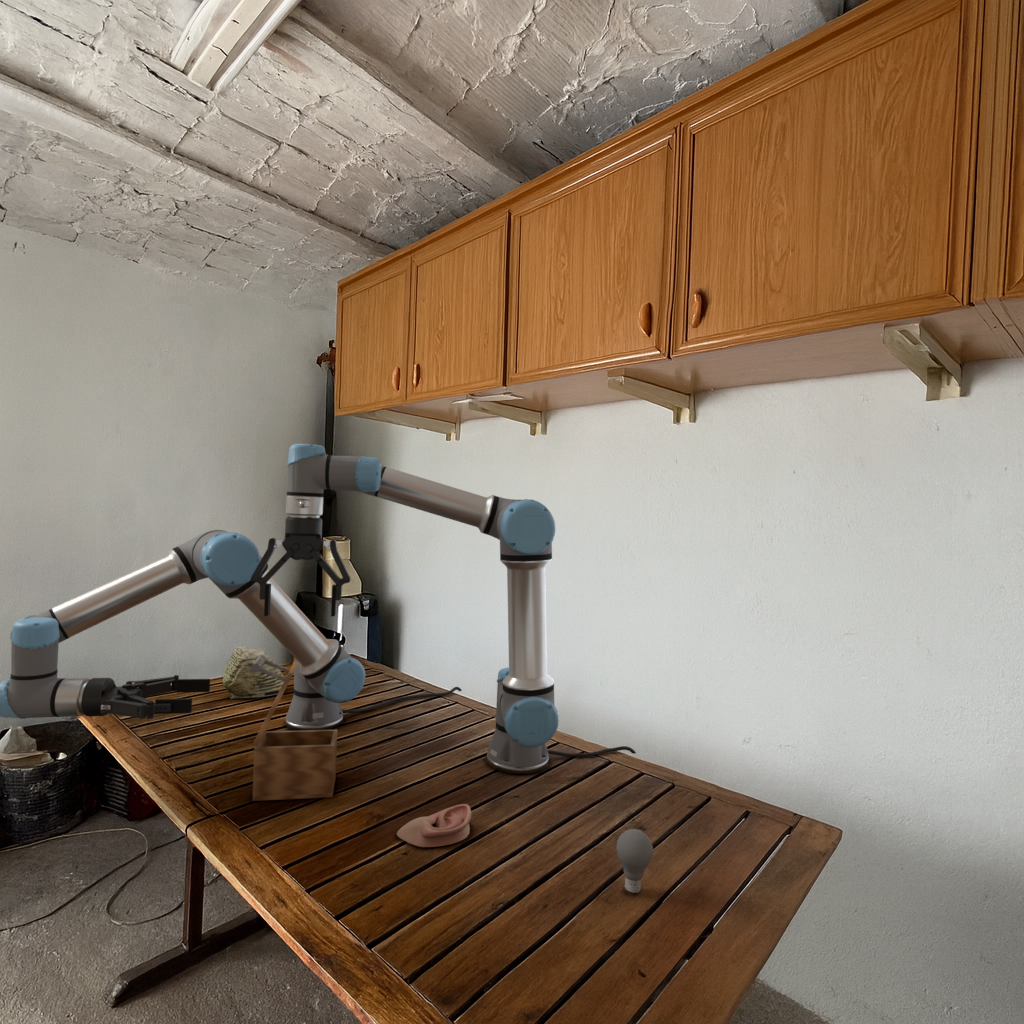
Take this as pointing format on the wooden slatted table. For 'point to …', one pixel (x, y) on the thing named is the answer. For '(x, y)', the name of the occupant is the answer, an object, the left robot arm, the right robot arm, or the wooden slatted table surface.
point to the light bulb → (634, 857)
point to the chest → (295, 765)
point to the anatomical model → (438, 827)
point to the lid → (258, 667)
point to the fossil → (250, 675)
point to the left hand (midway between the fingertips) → (201, 695)
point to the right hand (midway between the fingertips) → (300, 615)
